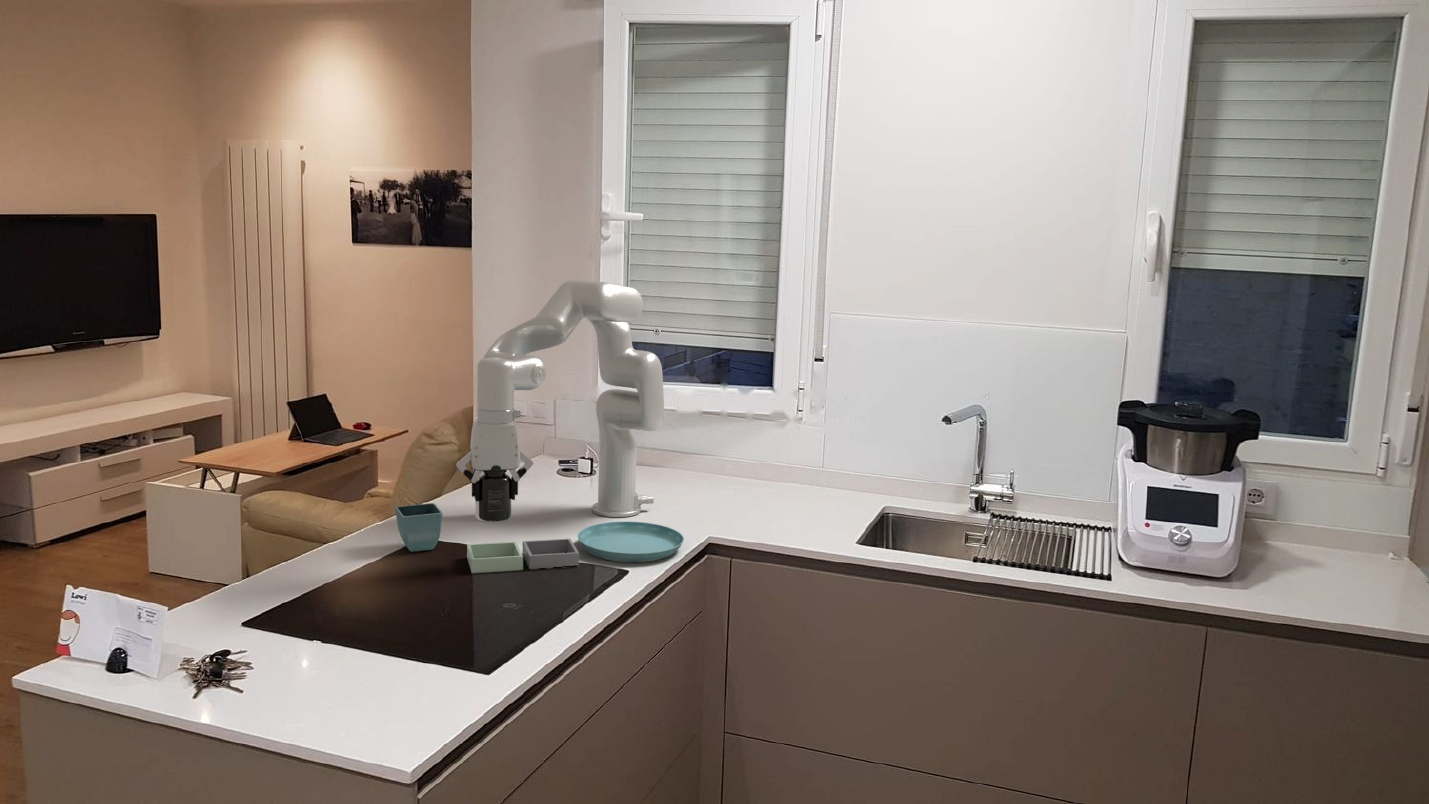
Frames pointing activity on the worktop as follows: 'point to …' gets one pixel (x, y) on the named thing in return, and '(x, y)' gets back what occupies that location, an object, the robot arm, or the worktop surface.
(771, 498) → the worktop surface
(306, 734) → the worktop surface
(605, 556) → the teal plate
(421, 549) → the flower pot
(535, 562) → the grey bin
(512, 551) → the green bin
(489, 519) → the supplement bottle
